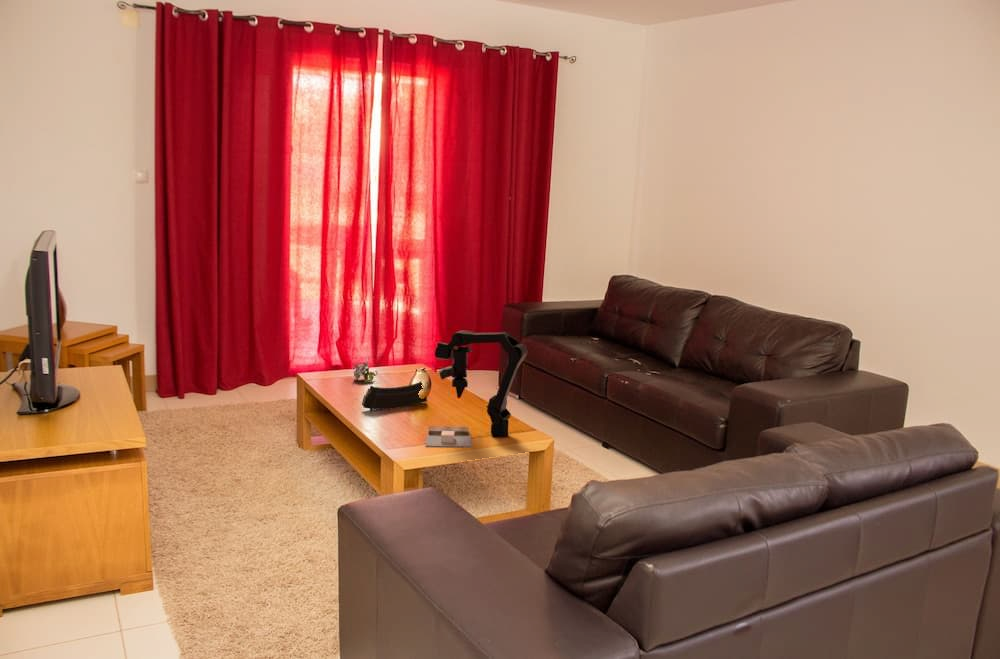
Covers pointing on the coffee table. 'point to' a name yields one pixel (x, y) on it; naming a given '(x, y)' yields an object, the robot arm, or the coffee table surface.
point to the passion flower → (363, 372)
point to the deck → (438, 430)
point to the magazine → (392, 397)
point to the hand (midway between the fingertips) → (458, 397)
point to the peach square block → (448, 436)
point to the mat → (458, 442)
